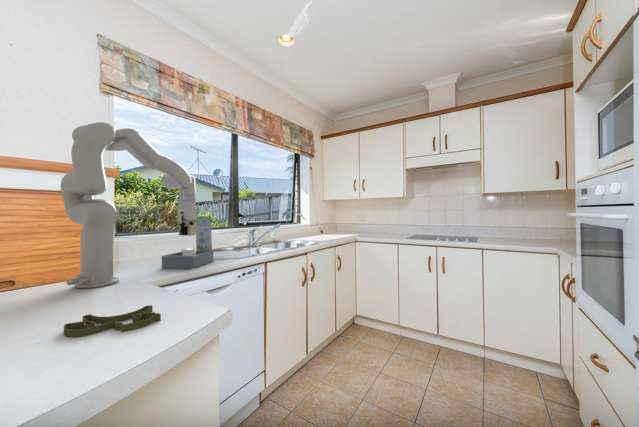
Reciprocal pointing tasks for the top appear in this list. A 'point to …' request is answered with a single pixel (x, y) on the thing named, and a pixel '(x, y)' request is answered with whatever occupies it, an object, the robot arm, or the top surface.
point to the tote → (186, 260)
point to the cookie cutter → (111, 323)
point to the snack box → (203, 233)
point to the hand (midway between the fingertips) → (187, 233)
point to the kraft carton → (189, 230)
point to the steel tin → (188, 252)
